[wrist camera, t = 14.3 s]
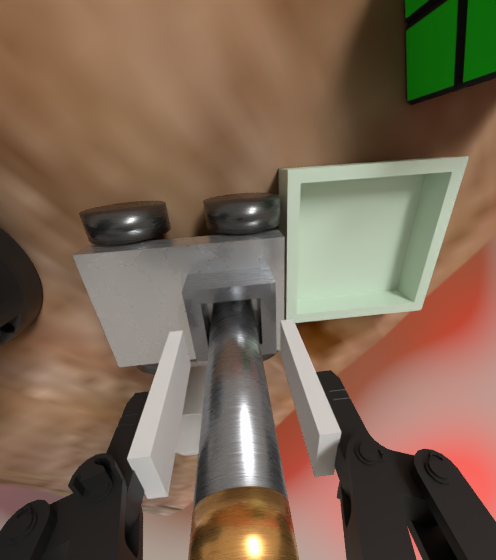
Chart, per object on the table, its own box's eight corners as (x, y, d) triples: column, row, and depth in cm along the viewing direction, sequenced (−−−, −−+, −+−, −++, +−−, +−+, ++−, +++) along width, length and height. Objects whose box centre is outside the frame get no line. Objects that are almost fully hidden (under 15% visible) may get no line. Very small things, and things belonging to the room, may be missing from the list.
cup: (237, 378, 31) (240, 442, 24) (171, 404, 33) (155, 473, 25) (211, 342, 28) (206, 403, 21) (140, 372, 30) (112, 439, 22)
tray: (279, 305, 27) (286, 323, 24) (278, 168, 21) (287, 169, 17) (398, 293, 27) (421, 309, 24) (433, 157, 21) (469, 156, 18)
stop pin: (215, 323, 19) (195, 613, 7) (210, 289, 17) (173, 577, 5) (253, 319, 19) (300, 596, 7) (250, 286, 18) (305, 557, 5)
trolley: (145, 334, 27) (108, 412, 19) (103, 204, 21) (17, 232, 12) (275, 321, 28) (296, 391, 19) (273, 191, 21) (303, 209, 13)
